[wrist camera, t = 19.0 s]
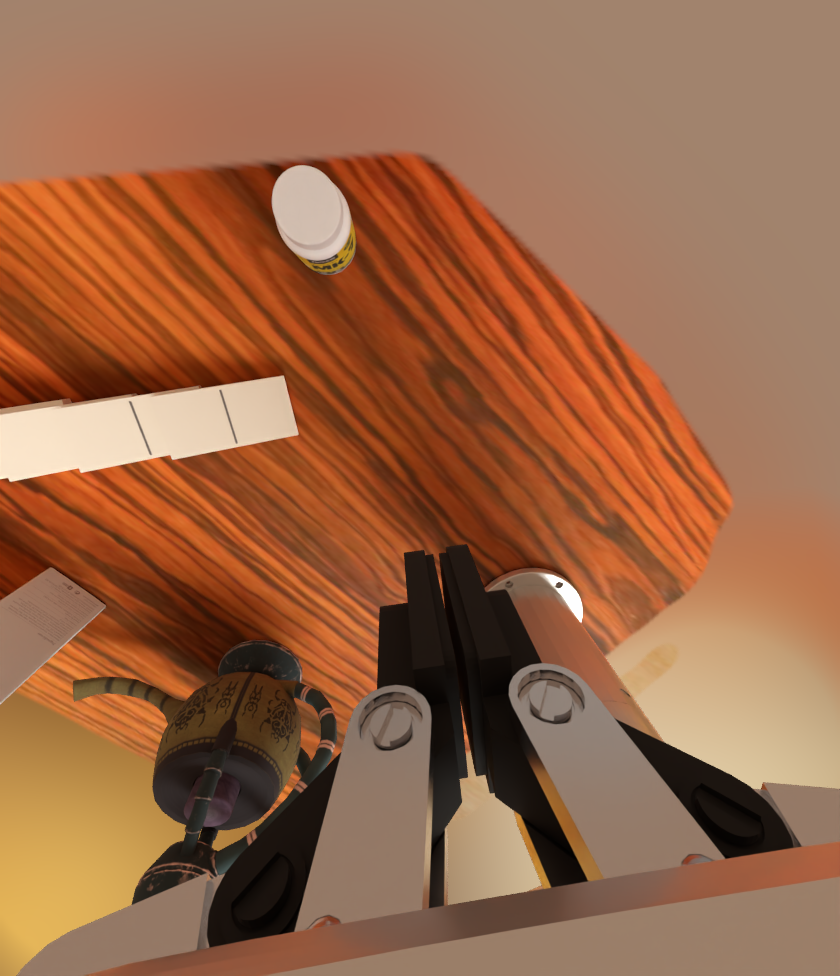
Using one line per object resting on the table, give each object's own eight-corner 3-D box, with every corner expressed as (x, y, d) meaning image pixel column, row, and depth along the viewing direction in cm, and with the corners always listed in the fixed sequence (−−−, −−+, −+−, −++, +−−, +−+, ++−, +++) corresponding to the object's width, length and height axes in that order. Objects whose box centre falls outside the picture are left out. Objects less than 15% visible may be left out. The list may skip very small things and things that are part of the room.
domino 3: (283, 375, 32) (148, 397, 30) (298, 434, 34) (172, 459, 32) (283, 375, 34) (154, 395, 31) (297, 431, 36) (176, 455, 33)
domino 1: (131, 394, 32) (-24, 418, 29) (154, 453, 34) (10, 481, 31) (136, 393, 33) (-11, 415, 30) (158, 449, 35) (21, 476, 32)
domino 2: (198, 386, 32) (51, 409, 29) (217, 445, 34) (80, 472, 31) (200, 385, 34) (61, 407, 31) (219, 442, 35) (88, 467, 32)
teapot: (330, 721, 48) (282, 1036, 26) (105, 693, 44) (-173, 1038, 22) (350, 642, 44) (314, 934, 22) (107, 604, 40) (-229, 913, 18)
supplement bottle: (320, 288, 32) (297, 269, 24) (282, 230, 30) (245, 189, 22) (369, 252, 31) (363, 221, 23) (333, 191, 30) (313, 136, 22)
